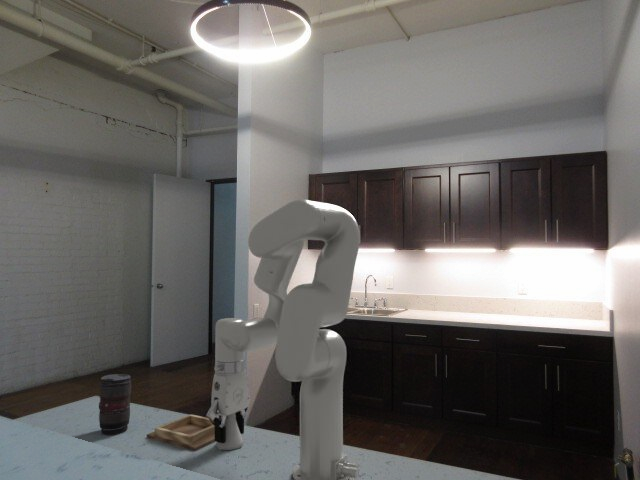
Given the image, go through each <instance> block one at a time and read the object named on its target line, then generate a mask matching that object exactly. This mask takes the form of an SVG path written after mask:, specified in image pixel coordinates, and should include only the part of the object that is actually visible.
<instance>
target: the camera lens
mask: <svg viewBox="0 0 640 480" xmlns="http://www.w3.org/2000/svg"><path fill="white" fill-rule="evenodd" d="M131 393H132V380H131V375H129V374H125V373H118V374H117V373H115V374H108V375H104V376H102V377H101V378H100V382H99V402H98V410H99V414H98V421H99V428H100V429H101V434H102V435H105V436H113V435H119V434H122V433H124V432H126V431H127V430H128V425H129V424H130V418H131Z"/></svg>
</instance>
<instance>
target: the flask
mask: <svg viewBox="0 0 640 480" xmlns="http://www.w3.org/2000/svg"><path fill="white" fill-rule="evenodd" d="M224 426H225V427H226V442H225V443H220V442H216V441H215V445H214V446H215V448H217V449H218V450H220V451H227V450H228V451H231V450H237V449H241V448H242V447H243V445H244V443H245V442H244V440H243V437H242V434H240V431H239V428H238V425H237V422H236V417H235V413H234V414H232V415H229V416H226V419H225V423H224Z"/></svg>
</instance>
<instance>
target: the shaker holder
mask: <svg viewBox="0 0 640 480" xmlns="http://www.w3.org/2000/svg"><path fill="white" fill-rule="evenodd" d="M146 438H147V439H149V440H153V441H157V442H161V443H164V444H168V445H172V446H175V447H180V448H181V449H182V448H183V449H187V450H190V451H195V452H197V451H198V450H200V449H204V448H205V447H208V446H209V445H211V444H213V443H216V441H215V426H213V424H212V423H211V421H210V420H209V419H208V418H207V417H206V416H200V415H196V414H192V413H191V414H188V415H185V416H182V417H180V418H178V419H174V420H172V421H170V422H167V423H164V424H162V425H159V426H156V427H154V431H152V432H150V433H147V434H146Z"/></svg>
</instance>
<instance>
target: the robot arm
mask: <svg viewBox="0 0 640 480" xmlns="http://www.w3.org/2000/svg"><path fill="white" fill-rule="evenodd" d="M360 232H361V231H360V227H359V224H358V221H357V220H356V219H355V217H354V216H353V215H352V214H351V213H350V212H349V211H348V210H347V209H345V208H343V207H342V206H339V205H336V204H333V203H332V204H331V203H328V202H322V201H316V200H315V201H314V200H310V199H302V198H301V199H300V198H299V199H295V200H292V201H290V202H288V203H286V204H285V205H282V206H281V207H280V208H278V209H276V210H274V211H273V212H272V213H269V214H268V215H267V216H265V217H264V218H262V219H261V220H260V221H257V223H256V224H255V225H254V226H253V227H252V229H251V231H250V232H249V235H248V239H247V240H248V241H247V243H248V249H249V251H250V253H251V254H252V255H253V256H255V257H256V258H259V264H258V266H257V269H256V272H255V273H254V277H253V283H254V285H255V286H256V287H257V288H258V289H259V290H261V291H262V292H264V293H266V294H268V305H267V308H266V310H265V313H264V316H263V317H260V318H254V319H253V318H252V319H247V320H243V319H242V318H238V317H226V318H220V319H218V320H217V321H216V322H215V334H214V335H215V338H214V340H215V345H214V347H215V348H214V350H215V351H214V354H215V355H214V357H215V359H214V360H215V361H214V362H215V363H214V369H213V370H214V375H213V379H212V388H211V398H210V402H211V403H210V405H211V406H210V408H209V409H208V411H207V413H206V416H205V417H206V418H208V419H209V420H210V421H211V423H212V424H213V426H215V443H216V442H220V443H225V442H226V427H225V426H224V423H225V419H226V416H229V415H232V414H234V413H235V417H236V422H237V425H238V428H239V431H240V434H241V435H243V434H245V418H246V416H247V414H246V413H247V411H248V408H249V406H250V403H251V401H252V398H251V397H250V387H249V377H248V372H247V369H246V368H245V365H246V363H245V362H246V359H245V358H246V356H245V355H246V352H251V351H255V350H260V349H265V348H268V347H272V346H274V345H275V353H274V354H275V356H274V358H275V359H274V360H275V365H276V368H277V371H278V372H279V374H280V376H281V377H282V378H283V379H285V380H287V381H288V382H293V383H294V382H295V383H296V382H301V383H300V384H301V385H300V391H299V463H297V464H296V465H295V466H294V467H293V469H292V478H293V479H294V480H349V479H350V478H353V479H358V477H359V474H360V470H359V464H358V463H353V462H349V461H348V453H344V430H343V429H344V428H343V427H344V424H343V422H344V421H343V419H344V418H343V417H344V416H343V415H344V413H343V410H344V409H343V408H344V406H343V404H344V401H343V400H344V398H343V397H344V391H343V390H344V375H345V371H346V364H347V347H346V342H345V340H344V339H343V338H342V336H341V335H340V334H339V333H337V331H334V330H331V329H327V328H326V327H330V326H331V327H332V326H335V325H337V324H340V323H341V322H343V321H344V320H345V318H346V316H347V314H348V309H349V305H350V299H351V293H352V287H353V280H354V274H355V265H356V263H357V262H356V261H357V258H358V257H357V256H358V254H359V253H358V252H359V248H360V243H361V233H360ZM305 240H309V241H322V242H324V246H323V247H322V249H321V251H320V252H319V255H318V256H317V259H316V263H315V270H314V275H313V278H312V279H313V280H312V282H311V283H303V284H299V285H296V286H295V287H292V289H291V290H290V291H289V292H288V293H287V291H288V287H289V286H290V283H291V280H292V277H293V274H294V272H295V270H296V267H297V265H298V261H299V258H300V257H301V254H302V251H303V249H304V246H305ZM321 328H323V329H321ZM220 416H221V417H220Z"/></svg>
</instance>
